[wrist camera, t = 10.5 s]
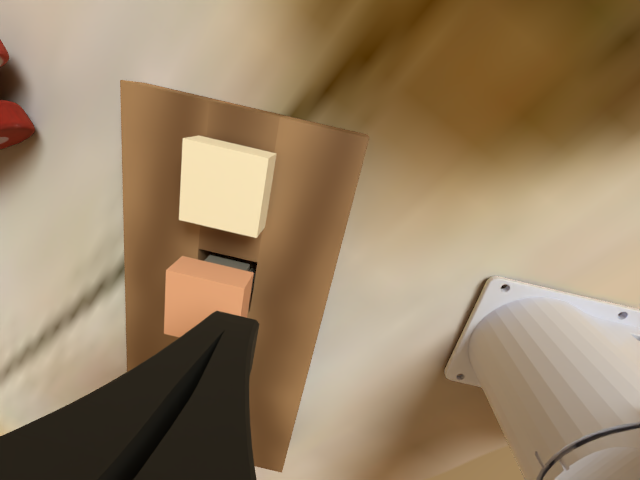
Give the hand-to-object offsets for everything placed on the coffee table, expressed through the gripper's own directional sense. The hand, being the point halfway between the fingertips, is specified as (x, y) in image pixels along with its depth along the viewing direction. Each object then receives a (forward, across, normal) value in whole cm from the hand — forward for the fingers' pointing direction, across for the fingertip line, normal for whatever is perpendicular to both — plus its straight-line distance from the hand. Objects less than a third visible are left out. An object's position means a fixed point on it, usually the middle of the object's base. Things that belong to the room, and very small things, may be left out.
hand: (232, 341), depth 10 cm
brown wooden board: (+10, +3, +6) cm, 13 cm away
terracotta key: (+9, +3, +3) cm, 10 cm away
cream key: (+10, +3, -3) cm, 11 cm away
